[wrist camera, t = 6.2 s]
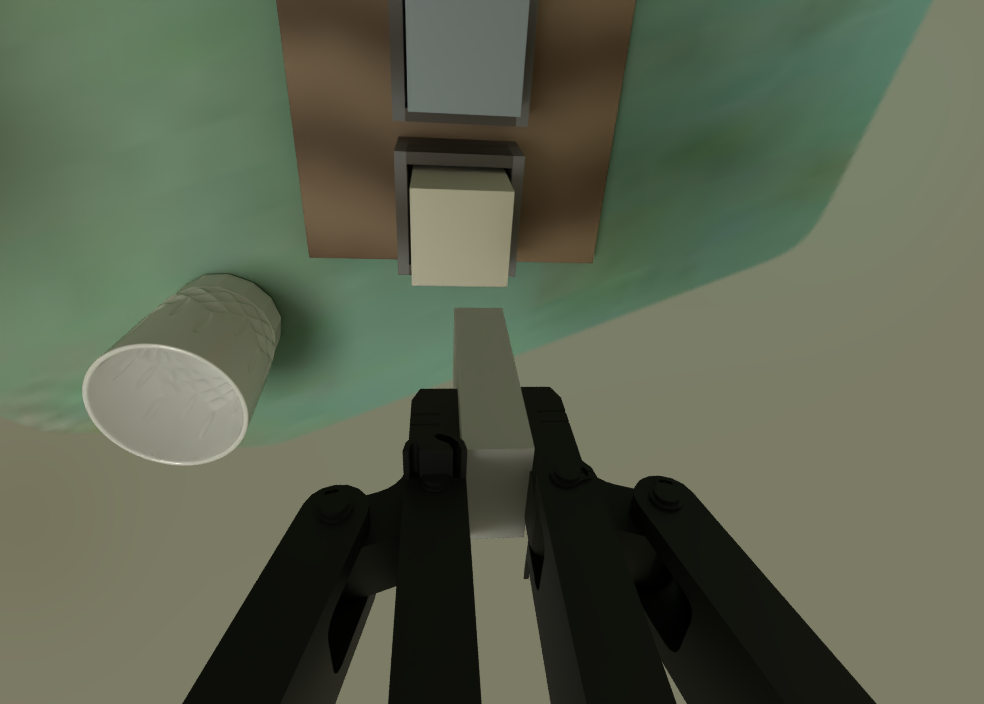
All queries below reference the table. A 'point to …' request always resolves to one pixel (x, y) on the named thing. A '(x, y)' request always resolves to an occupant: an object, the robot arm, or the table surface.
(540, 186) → the board
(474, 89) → the slate key
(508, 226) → the cream key
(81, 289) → the table surface
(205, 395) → the white cup
